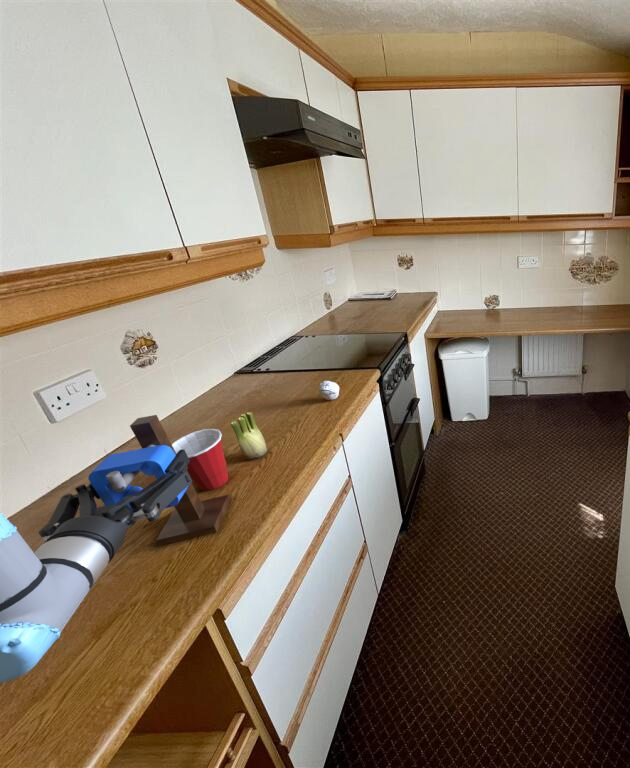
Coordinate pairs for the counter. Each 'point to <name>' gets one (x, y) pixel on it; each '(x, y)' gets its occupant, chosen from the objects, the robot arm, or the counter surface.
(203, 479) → the plastic cup
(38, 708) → the counter surface
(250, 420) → the fennel bulb
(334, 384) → the white lumpy ball
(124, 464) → the blue rounded square frame
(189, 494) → the hook stand
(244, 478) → the counter surface
